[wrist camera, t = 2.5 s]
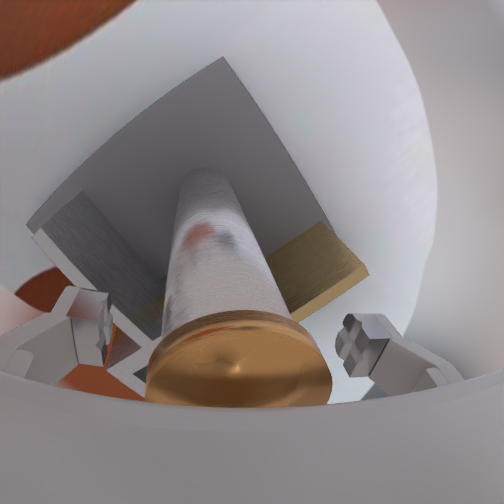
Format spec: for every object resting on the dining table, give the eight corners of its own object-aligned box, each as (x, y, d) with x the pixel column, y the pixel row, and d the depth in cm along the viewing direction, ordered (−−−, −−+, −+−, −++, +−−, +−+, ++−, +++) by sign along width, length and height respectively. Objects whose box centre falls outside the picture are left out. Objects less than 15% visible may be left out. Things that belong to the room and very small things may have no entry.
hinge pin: (163, 188, 23) (104, 399, 6) (213, 152, 22) (273, 299, 6) (199, 232, 25) (222, 464, 8) (247, 199, 24) (355, 401, 8)
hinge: (46, 226, 22) (2, 273, 15) (228, 77, 20) (244, 61, 13) (183, 361, 31) (185, 424, 24) (342, 260, 29) (385, 310, 22)
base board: (31, 219, 23) (25, 224, 22) (221, 58, 20) (223, 56, 19) (182, 367, 33) (182, 375, 32) (349, 263, 30) (354, 268, 29)
